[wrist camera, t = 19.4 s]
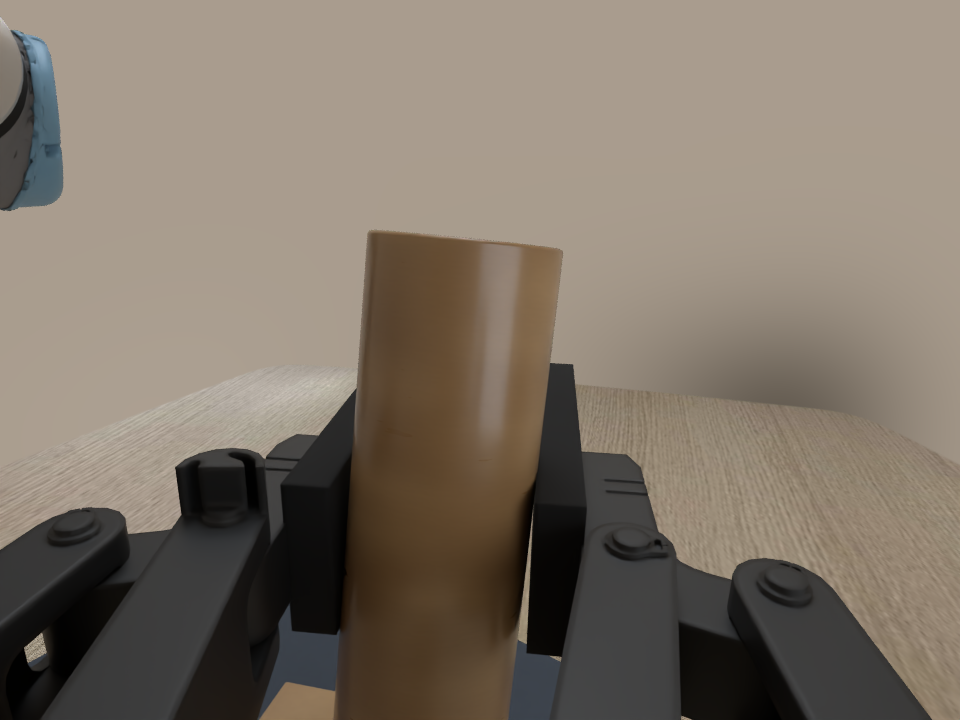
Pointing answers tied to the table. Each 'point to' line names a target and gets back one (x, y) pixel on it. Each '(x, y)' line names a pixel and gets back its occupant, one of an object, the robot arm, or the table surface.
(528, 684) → the scrub mat
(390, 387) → the wooden peg stand
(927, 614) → the table surface
